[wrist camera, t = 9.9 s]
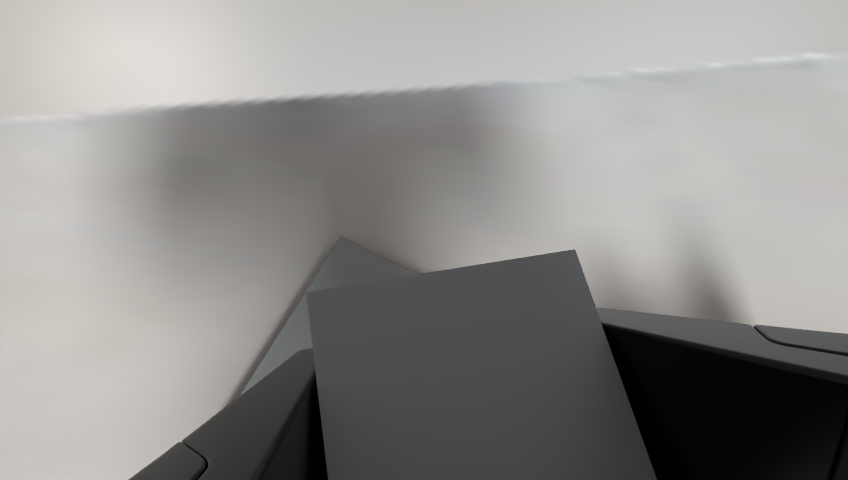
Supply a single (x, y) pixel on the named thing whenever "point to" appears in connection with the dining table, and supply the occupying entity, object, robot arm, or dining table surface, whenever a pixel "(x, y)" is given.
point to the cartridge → (472, 377)
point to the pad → (338, 270)
